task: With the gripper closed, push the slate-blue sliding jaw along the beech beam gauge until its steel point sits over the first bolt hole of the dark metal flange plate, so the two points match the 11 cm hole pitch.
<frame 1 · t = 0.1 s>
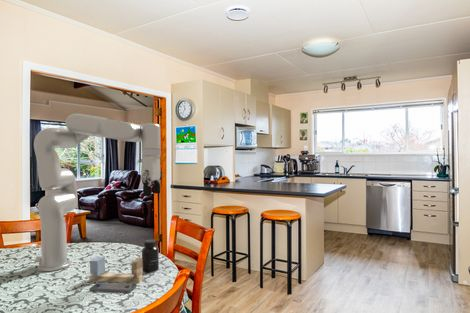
hand: (152, 194, 131), 31 cm above the table, fingers open, 9 cm apart
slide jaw: (93, 268, 119), point 5 cm above the table, slide at 0.0 cm
supplement bottle: (150, 270, 131), on the table
flange plate: (113, 288, 112), on the table
beam gauge: (116, 280, 120), on the table
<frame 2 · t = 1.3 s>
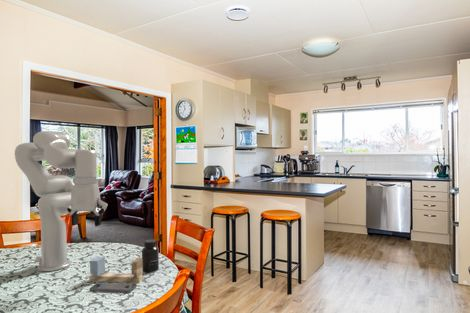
hand: (86, 225, 123), 21 cm above the table, fingers open, 9 cm apart
nothing on the table moved.
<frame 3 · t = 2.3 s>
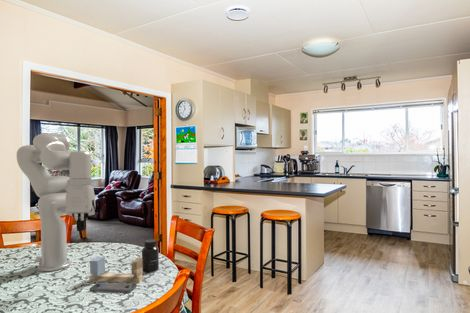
hand: (81, 230, 122), 19 cm above the table, fingers closed
nothing on the table moved.
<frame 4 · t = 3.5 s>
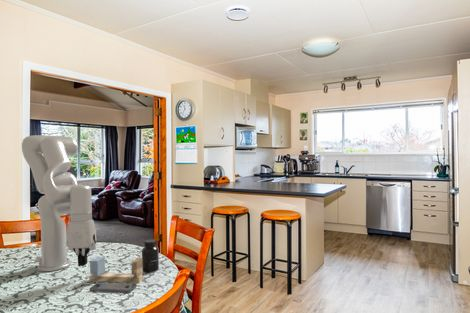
hand: (82, 265, 122), 6 cm above the table, fingers closed
nothing on the table moved.
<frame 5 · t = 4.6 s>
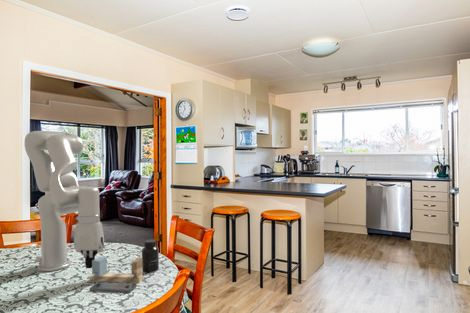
hand: (90, 267, 121), 5 cm above the table, fingers closed
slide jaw: (95, 268, 119), point 5 cm above the table, slide at 0.8 cm, touching gripper
everything else where it was.
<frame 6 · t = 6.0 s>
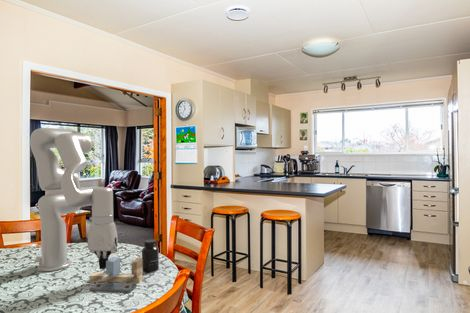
hand: (103, 267, 121), 5 cm above the table, fingers closed
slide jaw: (109, 269, 118), point 5 cm above the table, slide at 6.4 cm
everything else where it was.
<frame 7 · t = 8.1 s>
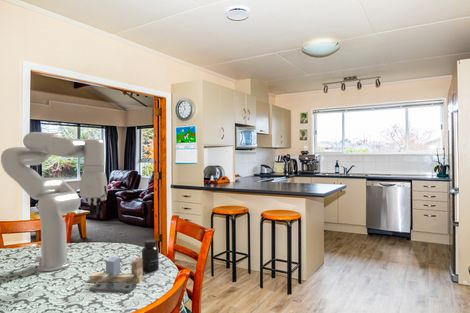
hand: (94, 214, 129), 24 cm above the table, fingers closed
nothing on the table moved.
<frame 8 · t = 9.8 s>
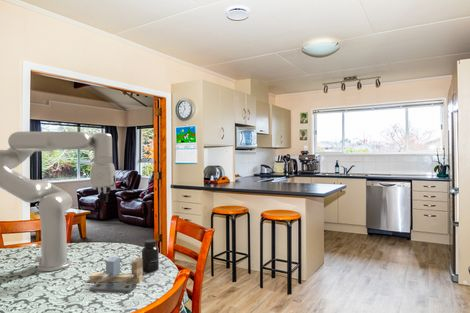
hand: (104, 202, 140), 27 cm above the table, fingers closed
nothing on the table moved.
at the end: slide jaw slide at 6.4 cm; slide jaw touching nothing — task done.
